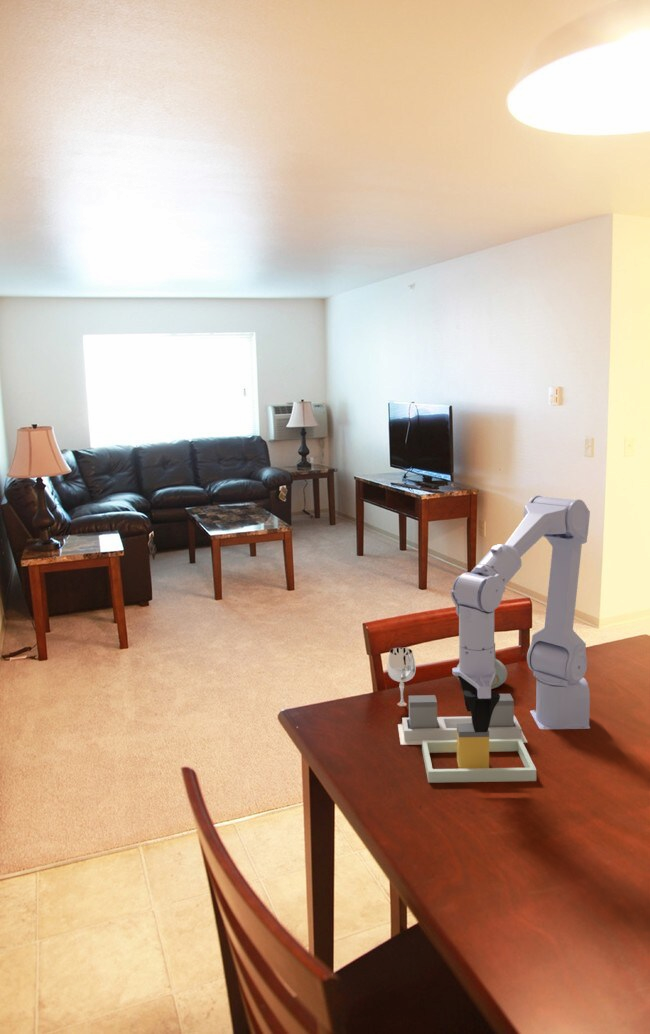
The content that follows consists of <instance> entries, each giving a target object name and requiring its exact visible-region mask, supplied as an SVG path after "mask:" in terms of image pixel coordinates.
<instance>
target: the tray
mask: <svg viewBox="0 0 650 1034" xmlns="http://www.w3.org/2000/svg"><path fill="white" fill-rule="evenodd" d="M490 752H492V753H493V752H517V753H518V755H519V758H520V759H521V761H522V764H523V766H524V767H489V768H470V769H459V768H433V765H432V760H431V756H430V754H431V753H434V754H436V753H457V740H422V744H421V753H422V756H423V761H424V762H423V763H424V767H425V773H426V777H427V782H428V783H433V784H434V783H481V782H483V783H487V782H488V783H489V782H492V783H494V782H496V783H497V782H498V783H499V782H501V783H503V782H537V768H536V766H535V764H534V762H533V760H532V757H531V756H530V754H529V751H528V750H527V748H526V746H525V743H523V741H522V739H489V753H490Z"/></svg>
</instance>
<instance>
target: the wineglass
mask: <svg viewBox="0 0 650 1034" xmlns="http://www.w3.org/2000/svg"><path fill="white" fill-rule="evenodd" d="M416 666H417V665H416V660H415V655H414V650H412V649H411V648H408V647H401V646H399V647H394V648H391V649H390V650H389V652H388V657H387V663H386V667H387V670H386V671H387V674H388V676H389V678H390V679H391V680H393V681H396V682H398V683H399V686H398V687H399V690H400V691H399V692H400V701H399V702H397V706H399V707H406V706H407V703H406V702H405V700H404V691H405V690H404V689H405V683H406V682H408V681H410V680H412V679H413V678H414V677H415V674H416V670H417V669H416Z"/></svg>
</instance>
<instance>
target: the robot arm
mask: <svg viewBox="0 0 650 1034" xmlns="http://www.w3.org/2000/svg"><path fill="white" fill-rule="evenodd" d="M590 516H591V511H590V510H589V507H587V504H586V503H585V501H583V500H582V499H580V498H579V499H571V498H559V497H548V496H542V495H540V494H539V495H534V496H532V497H531V498H530V499H529V500H528V502H527V504H525V505H524V509H523V518H522V520H521V521H520V523H519V524H518V525H517V527H516V528H515V530H513V532H512V533H511V535H510V537H509V538H508V539H507V540H506V541H505V543H504V544H503V543H498V544H494V545H492V547H491V548H490V550H489V551H488V552H487V553H486V554H485V555H484V557H483V558H481V560H480V561H479V562H478V563H476V565H475V566H474V567H473V569H472V570H471V571H470V572H468V571H467V572H463V573H462V574H459V575H457V577H456V579H455V580H454V582H453V585H452V590H451V591H450V597H451V599H452V601H453V603H454V605H455V614H456V615H457V616H458V647H459V648H458V649H459V651H458V654H459V656H458V657H459V658H458V659H459V661H458V662H459V663H458V664H459V667H457V666H456V667H453V668H451V669H452V670H451V671H452V675H453V676H455V677H457V676H458V678H459V679H458V678H457V679H458V681H459V680H460V681H459V682H460V686H461V689H462V695H463V699H464V705H465V708H466V711H467V712H470V716H471V717H472V724H473V728H474V731H475V732H487V731H488V728H489V725H490V720H491V716H492V713H493V710H494V708H495V706H496V704H497V703H498V701H499V699H500V695H499V694H500V693H499V691H492V689H491V684H492V682H493V679H494V677H495V669H494V643H495V610H497V609H498V608H499V606H500V604H501V602H502V599H503V595H504V593H505V592H506V588H507V587H506V585H507V584H508V583H509V582H510V581H511V580H512V579H513V577H514V576H515V575H516V574H517V573H518V572H519V570H520V569H521V567H522V565H523V563H522V557H523V556H524V555H525V554H526V553H527V552H528V551H529V550H530V549H531V548H532V547H533V546H534V545H535V544H537V542H538V541H540V539H542V538H545V539H546V540H547V542H548V543H549V544H550V545H551V547H552V550H551V559H550V569H549V580H548V589H547V598H546V608H545V618H544V627H543V628H541V629H539V630H538V631H536V632H534V633H533V634H532V636H531V642H530V645H529V647H528V649H527V650H528V651H527V652H526V653H527V654H526V662H527V665H528V668H529V670H531V671H532V675H533V677H535V678H536V691H535V692H536V697H535V698H536V699H535V702H536V703H535V705H536V706H535V709H533V710H530V711H529V712H530V715H531V716H532V717H533V720H534V722H535V723H536V725H537V727H538V728H539V729H540V730H572V729H573V730H577V729H578V730H579V729H581V730H583V729H584V730H585V729H591V726H590V706H591V695H590V694H591V693H590V687H589V683H588V681H587V679H586V678H585V677H584V676H585V674H586V672H587V668H588V659H587V654H586V650H587V647H586V645H587V644H586V642H585V641H584V640H583V639H582V637H580V635H578V633H576V632H575V630H574V623H575V614H576V613H575V612H576V604H577V594H578V584H579V583H578V582H579V577H580V576H579V575H580V566H581V565H580V564H581V556H582V547H583V544H586V543H587V542H588V534H589V525H590Z"/></svg>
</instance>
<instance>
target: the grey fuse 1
mask: <svg viewBox="0 0 650 1034" xmlns="http://www.w3.org/2000/svg"><path fill="white" fill-rule="evenodd" d="M437 717H438V701H437V697H436V694H430V695H429V694H427V695H424V694H423V695H418V694H417V695H408V718H409V729H427V728H437Z"/></svg>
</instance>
